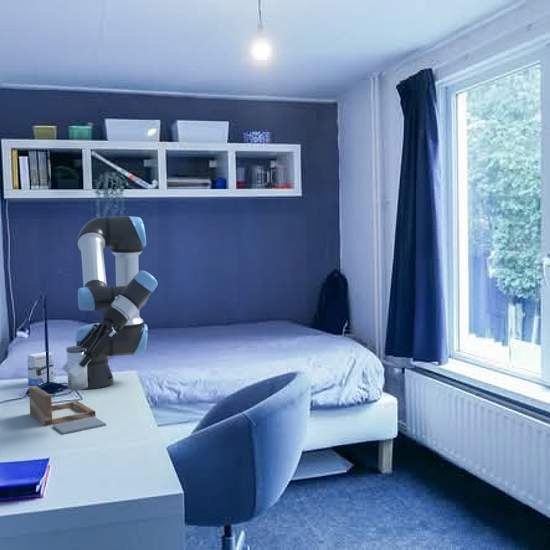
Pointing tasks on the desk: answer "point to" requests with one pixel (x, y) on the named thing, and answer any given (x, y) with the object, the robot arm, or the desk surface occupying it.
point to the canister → (72, 358)
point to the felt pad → (79, 425)
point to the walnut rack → (53, 408)
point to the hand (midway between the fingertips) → (68, 372)
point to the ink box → (39, 368)
